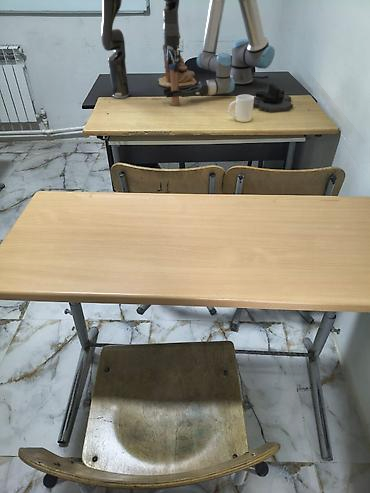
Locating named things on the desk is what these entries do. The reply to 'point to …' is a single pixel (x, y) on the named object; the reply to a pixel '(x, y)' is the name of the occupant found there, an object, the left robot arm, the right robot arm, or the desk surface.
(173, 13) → the left robot arm
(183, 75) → the sculpture
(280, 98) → the abstract sculpture
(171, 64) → the lid
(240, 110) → the mug
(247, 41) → the right robot arm
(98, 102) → the desk surface
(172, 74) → the brown cylindrical tube
